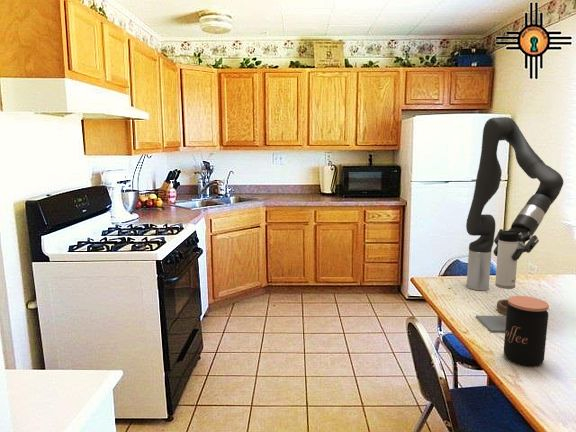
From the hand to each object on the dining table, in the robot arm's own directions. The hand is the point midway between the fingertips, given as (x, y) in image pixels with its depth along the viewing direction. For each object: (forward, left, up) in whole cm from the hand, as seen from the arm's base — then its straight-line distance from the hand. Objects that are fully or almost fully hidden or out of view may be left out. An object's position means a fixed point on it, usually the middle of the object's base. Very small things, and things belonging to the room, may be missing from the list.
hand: (504, 257), depth 149 cm
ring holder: (-13, +11, -25) cm, 30 cm away
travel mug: (-1, +2, -11) cm, 11 cm away
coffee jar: (+24, -4, -25) cm, 35 cm away
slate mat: (-1, +1, -25) cm, 25 cm away
